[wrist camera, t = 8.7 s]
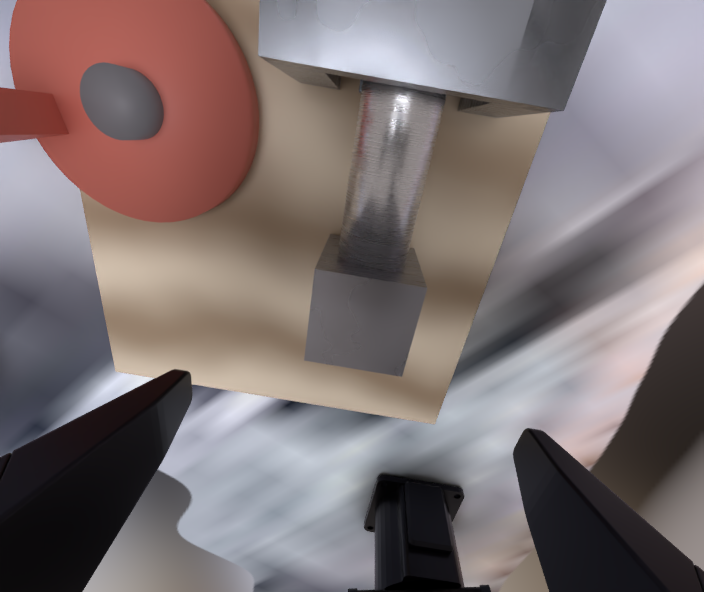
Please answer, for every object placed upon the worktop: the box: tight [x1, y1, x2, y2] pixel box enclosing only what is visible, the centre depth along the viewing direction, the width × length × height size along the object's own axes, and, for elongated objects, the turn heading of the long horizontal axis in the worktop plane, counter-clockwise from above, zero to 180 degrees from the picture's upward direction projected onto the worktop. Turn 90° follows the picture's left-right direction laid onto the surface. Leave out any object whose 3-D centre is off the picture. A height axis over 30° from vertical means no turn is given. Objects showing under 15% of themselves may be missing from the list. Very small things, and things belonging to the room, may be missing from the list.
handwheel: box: [0, 0, 259, 223], centre depth 11 cm, size 12×9×7 cm
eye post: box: [258, 0, 606, 118], centre depth 11 cm, size 2×8×5 cm, turn 81°
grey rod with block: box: [304, 80, 447, 377], centre depth 12 cm, size 15×4×4 cm, turn 171°
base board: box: [80, 0, 550, 424], centre depth 17 cm, size 20×20×1 cm
